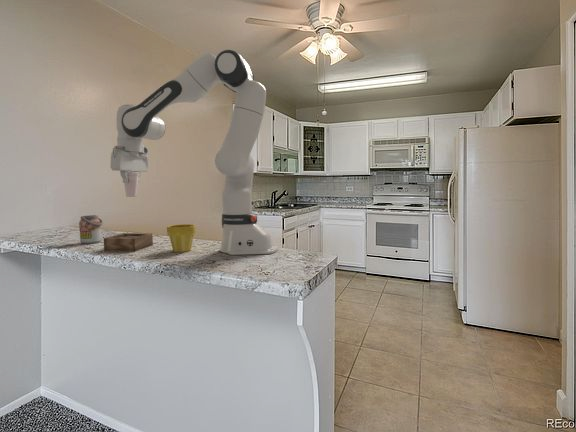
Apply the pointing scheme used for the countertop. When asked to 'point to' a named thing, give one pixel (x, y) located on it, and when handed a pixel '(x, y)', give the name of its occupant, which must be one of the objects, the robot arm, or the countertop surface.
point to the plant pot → (181, 236)
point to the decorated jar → (90, 229)
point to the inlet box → (128, 242)
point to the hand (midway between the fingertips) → (131, 182)
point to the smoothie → (132, 184)
